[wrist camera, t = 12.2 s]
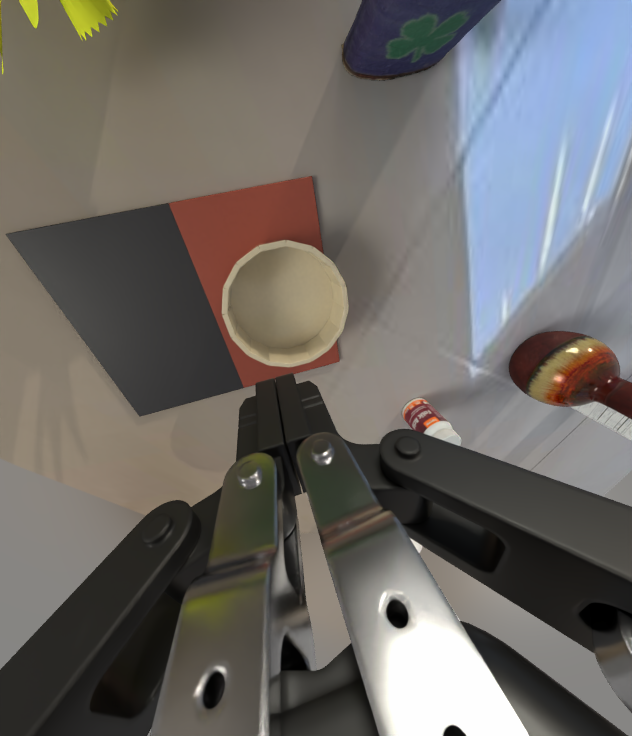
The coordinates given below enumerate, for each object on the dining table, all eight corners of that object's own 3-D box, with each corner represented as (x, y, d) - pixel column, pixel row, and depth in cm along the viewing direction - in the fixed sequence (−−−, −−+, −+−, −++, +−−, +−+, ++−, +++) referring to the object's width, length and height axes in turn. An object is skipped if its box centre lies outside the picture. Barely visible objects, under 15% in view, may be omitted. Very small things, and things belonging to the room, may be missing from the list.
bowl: (247, 360, 29) (246, 379, 26) (208, 254, 23) (199, 257, 20) (341, 336, 31) (353, 351, 27) (326, 229, 25) (340, 228, 21)
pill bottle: (414, 393, 39) (451, 428, 32) (432, 403, 41) (470, 439, 34) (395, 414, 40) (426, 453, 33) (413, 423, 42) (446, 462, 35)
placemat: (140, 414, 30) (139, 416, 30) (9, 234, 20) (5, 234, 20) (338, 360, 33) (339, 361, 32) (311, 176, 23) (311, 175, 22)
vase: (572, 329, 40) (729, 375, 27) (531, 386, 45) (648, 449, 31) (526, 318, 37) (680, 365, 23) (487, 381, 41) (598, 449, 28)
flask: (446, 22, 20) (611, -163, 11) (442, 74, 21) (584, -49, 12) (338, 30, 19) (419, -167, 10) (342, 85, 20) (415, -41, 11)
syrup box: (601, 381, 49) (720, 431, 36) (583, 405, 52) (688, 459, 39) (582, 381, 47) (699, 433, 35) (564, 406, 50) (667, 462, 38)
